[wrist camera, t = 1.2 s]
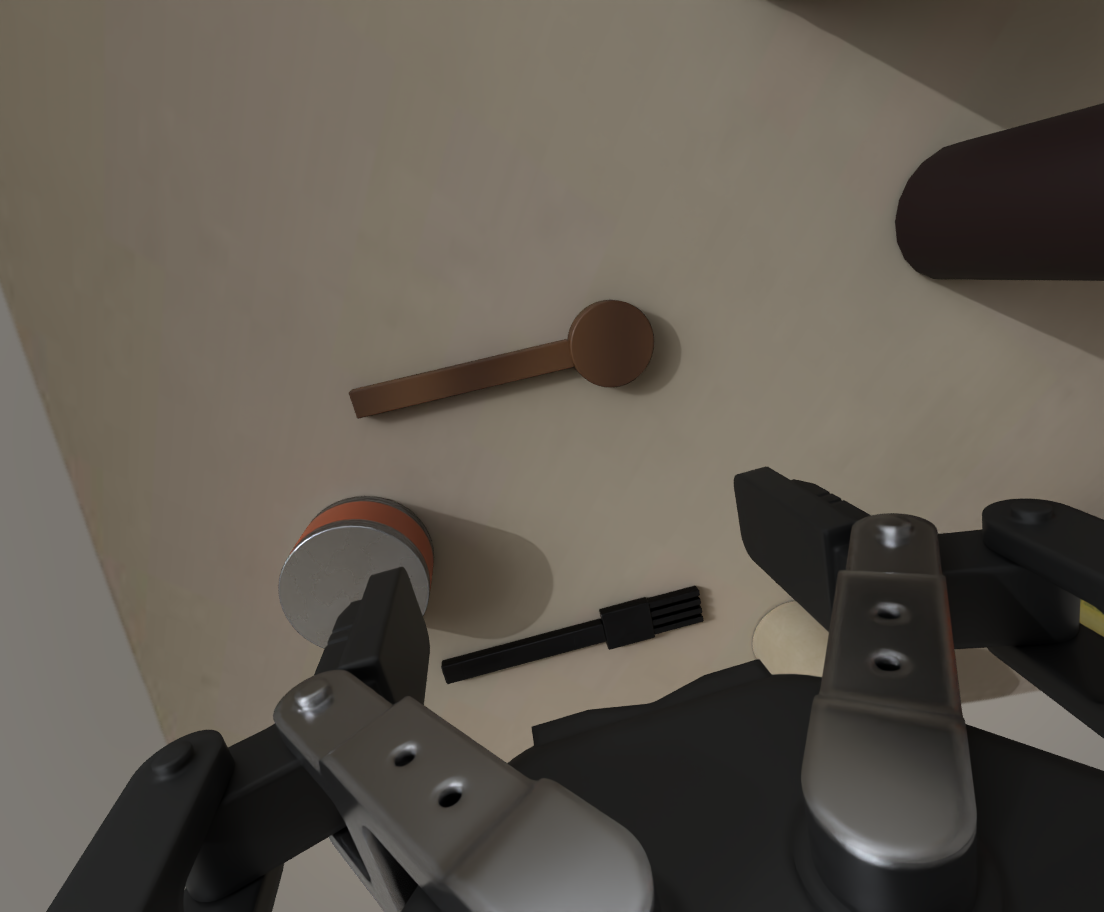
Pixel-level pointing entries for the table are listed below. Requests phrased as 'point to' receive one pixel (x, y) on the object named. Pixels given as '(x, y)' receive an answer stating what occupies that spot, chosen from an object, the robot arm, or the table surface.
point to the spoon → (532, 361)
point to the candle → (791, 641)
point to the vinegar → (1011, 204)
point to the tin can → (351, 561)
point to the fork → (586, 634)
